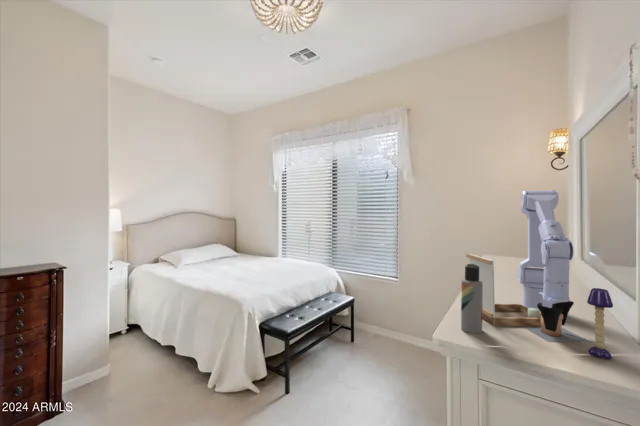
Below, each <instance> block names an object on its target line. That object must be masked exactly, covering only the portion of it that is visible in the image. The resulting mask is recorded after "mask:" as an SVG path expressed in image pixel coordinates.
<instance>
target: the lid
mask: <svg viewBox="0 0 640 426" xmlns="http://www.w3.org/2000/svg"><path fill="white" fill-rule="evenodd" d="M465 257H466V259H468V264H474V265H477V266H479V281H482V282H483V307H482V313H484V314H486V315H487V316H489V317H490V318H495V304H496V302H495V299H496V298H495V267H494V266H495V263H494V262H495V261H494V260H492V259H490V258H486V257H482V256H479V255H475V254H472V253H466V254H465Z"/></svg>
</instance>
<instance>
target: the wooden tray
mask: <svg viewBox="0 0 640 426" xmlns="http://www.w3.org/2000/svg"><path fill="white" fill-rule="evenodd" d="M482 319H484V320H486V321H487V322H489V323H490V324H492V325H493V326H512V327H513V326H514V327H515V326H518V327H519V326H521V327H541V318H528V307H526V306H524V305H523V303H522V304H521V303H495V318H490V317H489V316H487V315H486V314H484V313H482Z"/></svg>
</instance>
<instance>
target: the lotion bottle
mask: <svg viewBox="0 0 640 426" xmlns="http://www.w3.org/2000/svg"><path fill="white" fill-rule="evenodd" d="M460 286H461V287H460V288H461V289H460V290H461V291H460V292H461V294H460V296H461V297H460V302H461V304H460V305H461V306H460V316H461V317H460V328H461V330H462V331H463V332H465V333H468V334H470V333H471V334H480V333H482V332H483V317H482V307H483V282H482V281H479V266H477V265H474V264H469V263H467V264H466V265H464V278H462V279H461V285H460Z"/></svg>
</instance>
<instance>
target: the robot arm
mask: <svg viewBox="0 0 640 426" xmlns="http://www.w3.org/2000/svg"><path fill="white" fill-rule="evenodd" d="M520 194H521V195H520V211H521V213H522V214H524V215H526V219H527V258H525V259H524V260H522V261H520V262H519V264H518V269H517V280H518V282H519V283H520V285H521V284H522V305H524V306H526V307H528V308H537V309H539V310H540V312H541V314H542V317H543V320H544V324H545V328H546V329H547V330H550V331H554V332H555V331H556V329H557V324H558V319H559V316H560V314H561V313H562V314H563V319H562V327H563V326H565V324H566V321H567V320H568V319H567V318H568V315H569V313H570V310H571V309H572V307H573V306H574V303H575V302H574V301H572V300H571V299H570V261H572V260H573V258H574V245H573V242H572V240H570V239H569V238H568V237H566V234H565V232H564V229H563V225H562V224H561V223H560V222H558V221H556V216H555V211H554V210H555V209H556V208H557V206H558V205H559V193H558V191H557V190H556V189H552V190H549V189H548V190H523V191H521V193H520Z"/></svg>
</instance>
